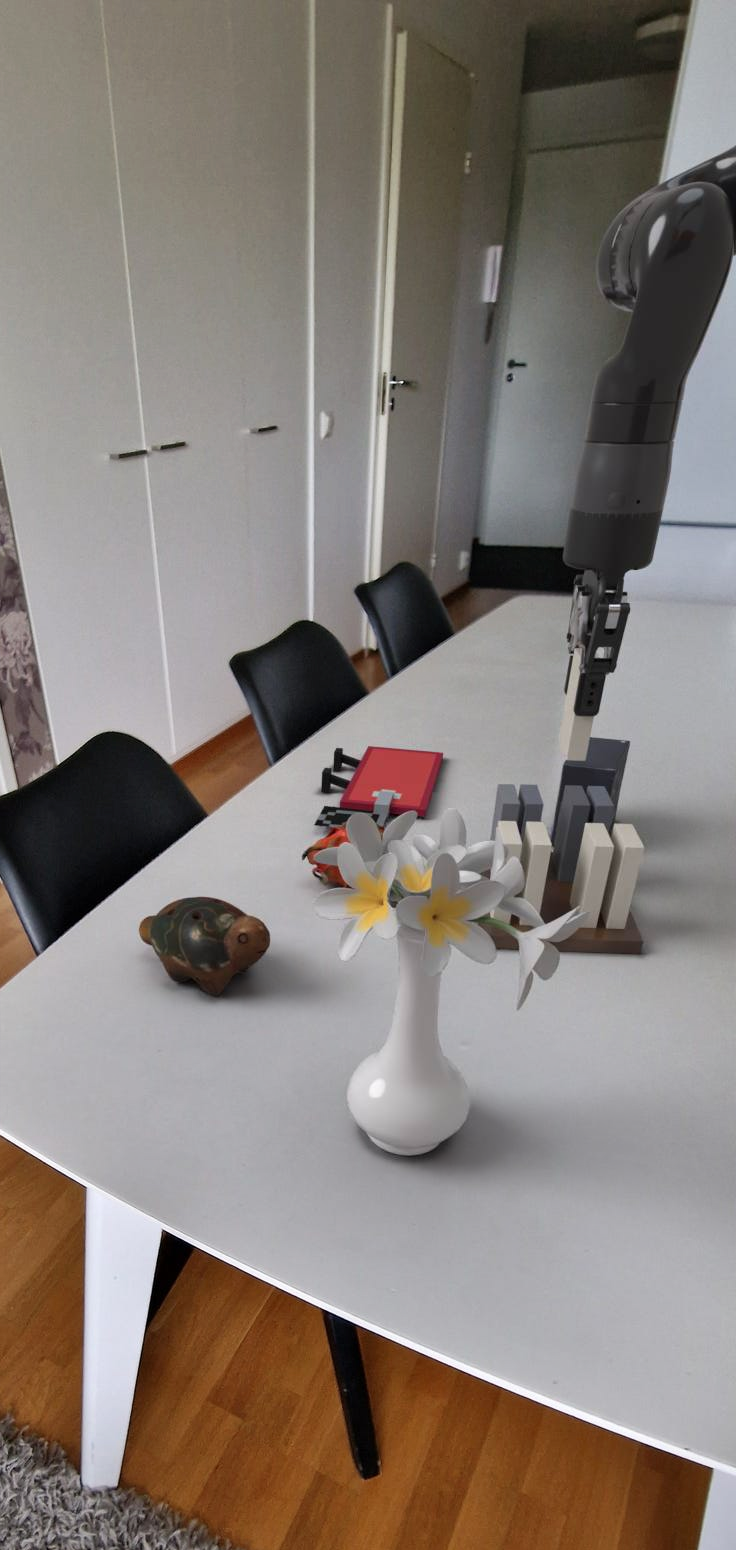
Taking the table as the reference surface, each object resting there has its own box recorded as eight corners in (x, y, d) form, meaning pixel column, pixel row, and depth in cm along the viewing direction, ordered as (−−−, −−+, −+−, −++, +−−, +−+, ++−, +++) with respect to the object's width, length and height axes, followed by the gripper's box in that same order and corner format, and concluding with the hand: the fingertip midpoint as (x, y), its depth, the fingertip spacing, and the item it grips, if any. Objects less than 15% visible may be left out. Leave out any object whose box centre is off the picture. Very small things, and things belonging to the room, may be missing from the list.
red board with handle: (299, 830, 117) (417, 843, 114) (299, 809, 115) (419, 822, 112) (343, 753, 140) (442, 761, 137) (344, 734, 139) (444, 743, 136)
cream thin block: (576, 741, 93) (594, 648, 88) (585, 760, 88) (604, 663, 83) (558, 741, 93) (574, 647, 88) (566, 760, 89) (583, 663, 83)
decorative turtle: (251, 1018, 85) (241, 944, 80) (119, 986, 91) (103, 916, 87) (299, 964, 91) (293, 892, 86) (173, 937, 98) (160, 869, 93)
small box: (563, 813, 120) (578, 733, 114) (615, 821, 118) (633, 739, 112) (546, 845, 113) (561, 761, 106) (601, 854, 110) (619, 769, 104)
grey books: (588, 861, 106) (604, 785, 100) (597, 883, 101) (614, 805, 96) (487, 858, 107) (497, 783, 101) (491, 880, 102) (502, 803, 97)
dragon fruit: (411, 911, 103) (309, 911, 107) (418, 844, 106) (318, 846, 110) (398, 874, 96) (288, 876, 100) (406, 803, 98) (299, 808, 102)
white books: (614, 903, 97) (632, 823, 92) (624, 929, 93) (644, 847, 88) (487, 899, 99) (498, 820, 94) (491, 924, 94) (503, 843, 89)
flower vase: (504, 1228, 64) (569, 910, 49) (271, 1141, 71) (266, 843, 56) (554, 1117, 73) (621, 820, 58) (342, 1050, 80) (354, 773, 66)
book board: (603, 865, 108) (605, 853, 107) (640, 954, 92) (643, 941, 91) (464, 861, 110) (466, 849, 109) (477, 947, 94) (479, 935, 93)
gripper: (683, 515, 72) (635, 730, 82) (645, 493, 83) (607, 684, 93) (584, 515, 73) (549, 728, 83) (560, 493, 84) (531, 683, 94)
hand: (580, 704), depth 88 cm, fingers closed on cream thin block, 5 cm apart
